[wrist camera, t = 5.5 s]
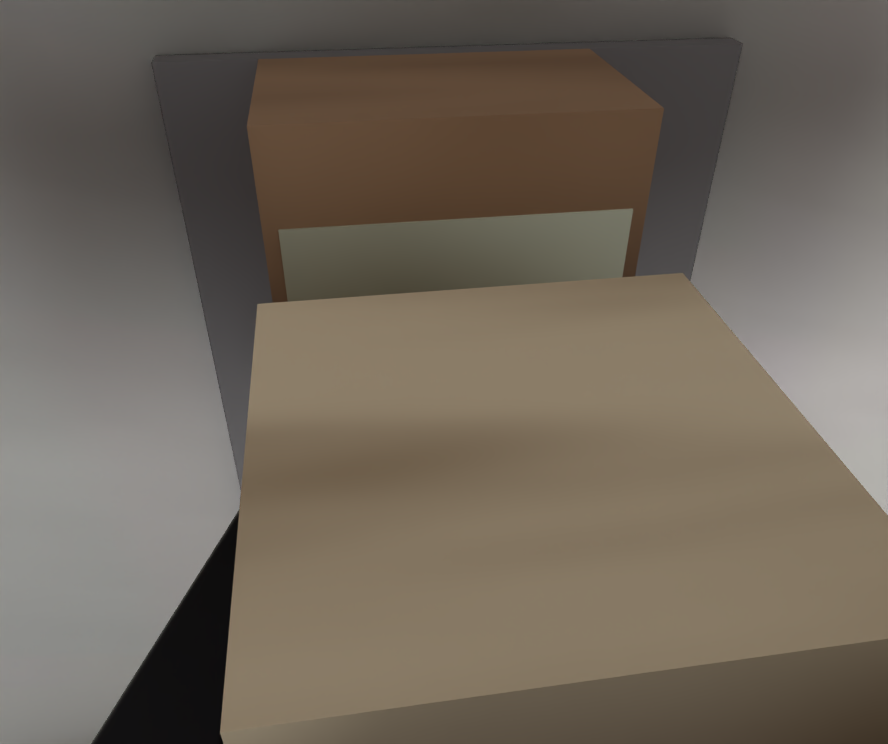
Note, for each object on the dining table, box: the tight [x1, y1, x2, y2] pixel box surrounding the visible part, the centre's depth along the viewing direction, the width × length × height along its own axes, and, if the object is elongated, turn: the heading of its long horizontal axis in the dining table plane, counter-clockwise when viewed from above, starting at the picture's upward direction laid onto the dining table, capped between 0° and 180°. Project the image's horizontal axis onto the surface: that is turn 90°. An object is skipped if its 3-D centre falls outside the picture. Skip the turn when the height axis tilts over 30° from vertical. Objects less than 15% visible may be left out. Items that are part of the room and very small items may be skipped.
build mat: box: [152, 38, 742, 488], centre depth 16 cm, size 16×9×1 cm, turn 0°
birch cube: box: [220, 273, 888, 744], centre depth 8 cm, size 5×5×5 cm
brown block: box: [247, 49, 664, 303], centre depth 13 cm, size 8×5×3 cm, turn 0°
